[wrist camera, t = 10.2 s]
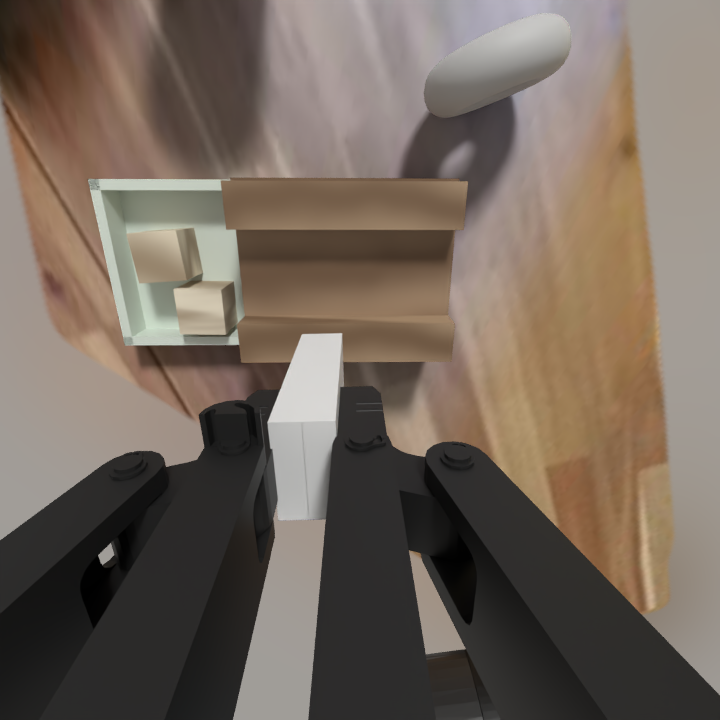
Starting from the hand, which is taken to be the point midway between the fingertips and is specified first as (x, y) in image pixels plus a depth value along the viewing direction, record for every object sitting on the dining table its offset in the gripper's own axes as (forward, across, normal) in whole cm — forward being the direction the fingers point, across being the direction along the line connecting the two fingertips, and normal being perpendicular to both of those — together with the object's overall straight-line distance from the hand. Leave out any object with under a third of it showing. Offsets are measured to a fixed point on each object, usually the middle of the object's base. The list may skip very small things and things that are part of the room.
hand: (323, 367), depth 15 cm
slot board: (+25, -1, -1) cm, 25 cm away
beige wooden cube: (+22, +12, +1) cm, 25 cm away
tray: (+25, +14, -1) cm, 28 cm away
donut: (+25, -11, -15) cm, 31 cm away
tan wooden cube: (+20, +15, -2) cm, 25 cm away
